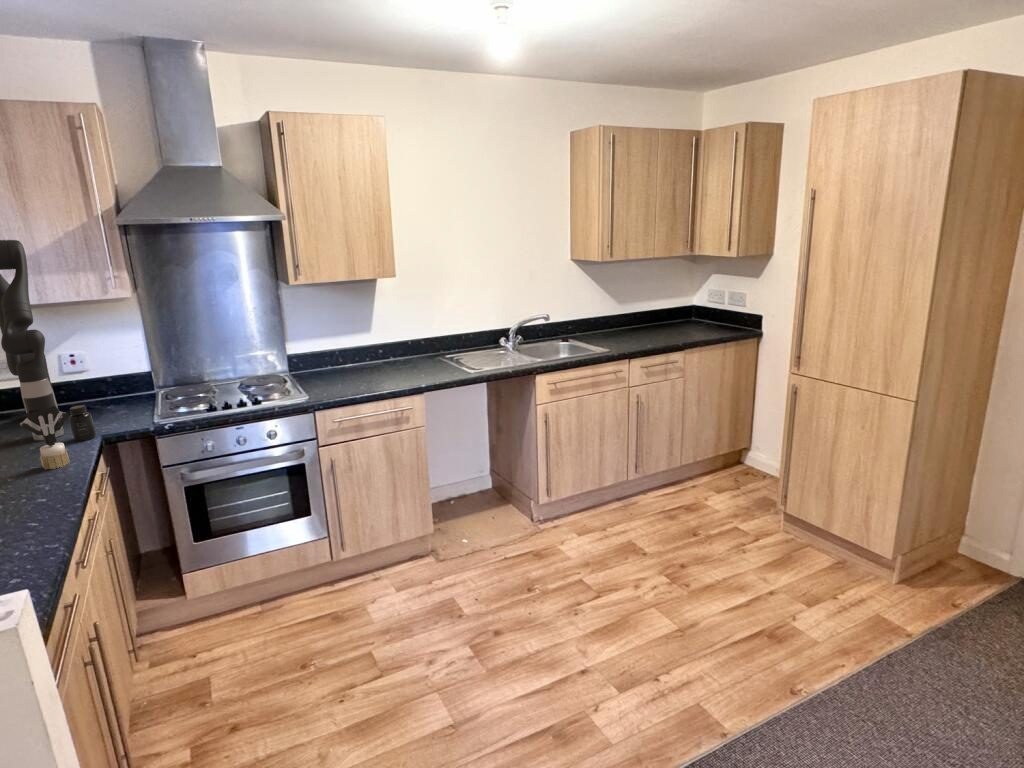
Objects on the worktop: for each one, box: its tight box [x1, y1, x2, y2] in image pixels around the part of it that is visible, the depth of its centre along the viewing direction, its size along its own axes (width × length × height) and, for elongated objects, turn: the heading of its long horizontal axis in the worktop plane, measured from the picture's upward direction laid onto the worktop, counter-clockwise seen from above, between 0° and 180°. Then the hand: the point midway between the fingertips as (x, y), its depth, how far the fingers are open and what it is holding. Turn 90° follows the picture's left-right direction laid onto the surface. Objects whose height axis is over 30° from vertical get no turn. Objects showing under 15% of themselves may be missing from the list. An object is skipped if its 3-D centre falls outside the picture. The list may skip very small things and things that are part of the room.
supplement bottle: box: [68, 404, 97, 442], centre depth 222 cm, size 7×7×12 cm
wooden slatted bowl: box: [39, 449, 71, 470], centre depth 199 cm, size 7×7×4 cm
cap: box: [39, 442, 67, 457], centre depth 199 cm, size 6×6×5 cm
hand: (51, 445), depth 198 cm, fingers closed
